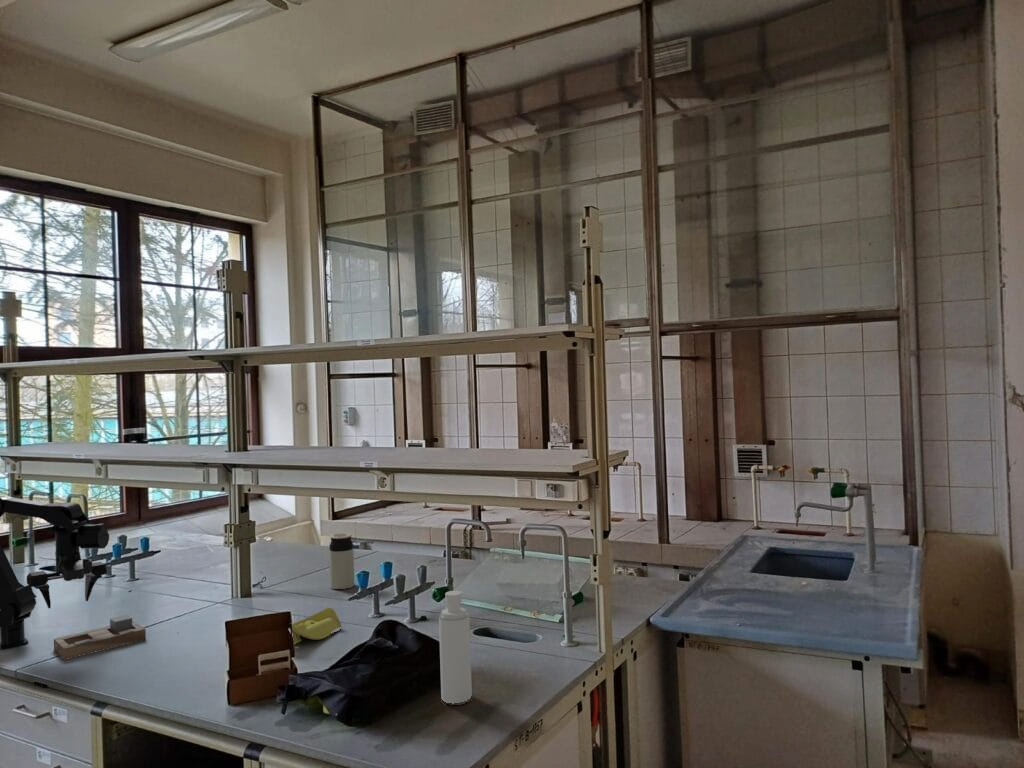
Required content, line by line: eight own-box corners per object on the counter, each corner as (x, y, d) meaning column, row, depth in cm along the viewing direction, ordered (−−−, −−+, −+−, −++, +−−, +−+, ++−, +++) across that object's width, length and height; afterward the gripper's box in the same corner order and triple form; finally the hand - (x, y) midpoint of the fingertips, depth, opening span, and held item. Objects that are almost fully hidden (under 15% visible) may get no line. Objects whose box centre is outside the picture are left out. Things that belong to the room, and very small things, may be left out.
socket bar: (54, 649, 200) (53, 637, 200) (133, 630, 214) (132, 619, 214) (64, 660, 192) (63, 647, 192) (145, 639, 206) (145, 627, 206)
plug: (110, 640, 207) (109, 618, 207) (127, 635, 210) (126, 614, 210) (115, 643, 204) (115, 622, 204) (132, 639, 207) (132, 618, 207)
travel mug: (333, 591, 248) (331, 538, 248) (328, 585, 256) (327, 534, 255) (356, 588, 252) (355, 535, 251) (351, 582, 259) (350, 531, 259)
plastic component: (308, 617, 214) (334, 604, 211) (317, 641, 213) (344, 629, 210) (263, 635, 196) (292, 621, 193) (273, 661, 194) (302, 648, 191)
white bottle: (464, 690, 165) (460, 579, 165) (477, 701, 159) (473, 586, 159) (436, 697, 162) (433, 584, 162) (448, 708, 156) (445, 591, 156)
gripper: (35, 559, 193) (35, 618, 193) (112, 547, 206) (113, 603, 206) (25, 552, 201) (26, 609, 201) (101, 541, 214) (101, 595, 214)
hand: (68, 604), depth 205 cm, fingers open, 9 cm apart
